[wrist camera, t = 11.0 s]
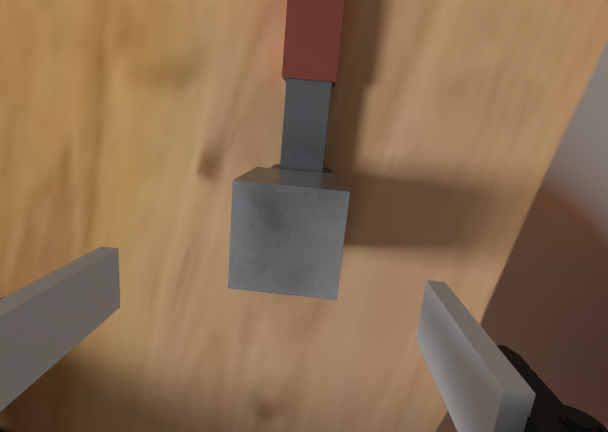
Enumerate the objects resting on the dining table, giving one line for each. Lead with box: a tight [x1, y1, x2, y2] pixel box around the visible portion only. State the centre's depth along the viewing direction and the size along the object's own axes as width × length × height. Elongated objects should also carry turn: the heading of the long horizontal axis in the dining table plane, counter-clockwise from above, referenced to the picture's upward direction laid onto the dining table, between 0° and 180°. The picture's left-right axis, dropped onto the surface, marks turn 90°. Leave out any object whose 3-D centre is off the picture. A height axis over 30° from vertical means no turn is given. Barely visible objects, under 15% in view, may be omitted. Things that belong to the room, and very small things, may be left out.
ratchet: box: [271, 0, 345, 174], centre depth 28 cm, size 5×24×7 cm, turn 175°
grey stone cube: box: [228, 167, 350, 300], centre depth 26 cm, size 7×7×8 cm
